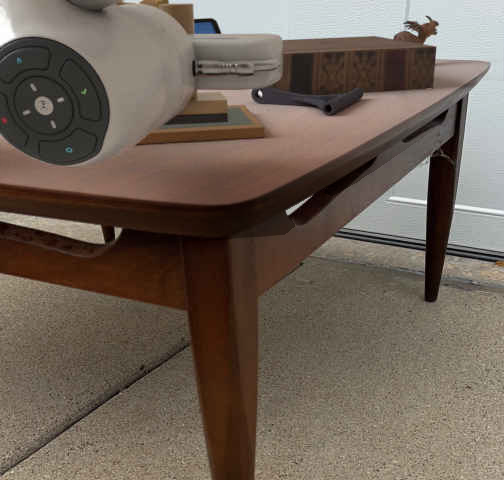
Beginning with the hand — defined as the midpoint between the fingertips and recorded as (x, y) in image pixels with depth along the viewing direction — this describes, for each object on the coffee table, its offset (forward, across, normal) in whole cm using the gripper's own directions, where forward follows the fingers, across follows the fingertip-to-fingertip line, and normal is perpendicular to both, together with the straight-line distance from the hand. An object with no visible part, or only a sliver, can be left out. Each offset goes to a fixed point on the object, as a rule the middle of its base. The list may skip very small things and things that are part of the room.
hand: (180, 50), depth 63 cm
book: (+59, -10, +11) cm, 61 cm away
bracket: (+37, -8, +11) cm, 40 cm away
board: (+19, +5, +11) cm, 23 cm away
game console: (+89, +18, +11) cm, 91 cm away
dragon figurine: (+85, -25, +11) cm, 89 cm away
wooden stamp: (-1, 0, +6) cm, 6 cm away
